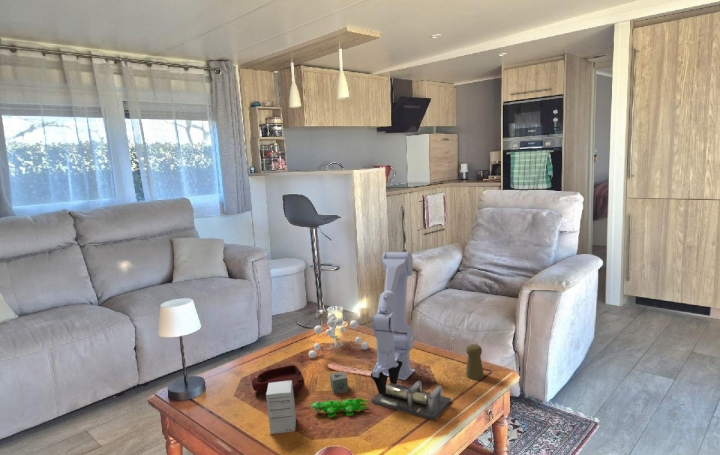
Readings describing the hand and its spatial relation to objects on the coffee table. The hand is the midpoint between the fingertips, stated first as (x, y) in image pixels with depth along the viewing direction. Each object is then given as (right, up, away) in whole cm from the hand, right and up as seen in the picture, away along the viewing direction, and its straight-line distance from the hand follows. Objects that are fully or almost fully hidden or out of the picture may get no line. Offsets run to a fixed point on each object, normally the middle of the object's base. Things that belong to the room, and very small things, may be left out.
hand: (388, 388), depth 148 cm
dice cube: (-16, -3, +7) cm, 18 cm away
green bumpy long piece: (-15, -5, -7) cm, 17 cm away
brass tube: (+5, 0, -4) cm, 6 cm away
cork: (+31, +1, +10) cm, 32 cm away
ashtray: (-36, -4, +11) cm, 38 cm away
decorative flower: (-21, +2, +39) cm, 45 cm away
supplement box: (-32, -7, -12) cm, 35 cm away
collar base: (+7, -3, -4) cm, 9 cm away
